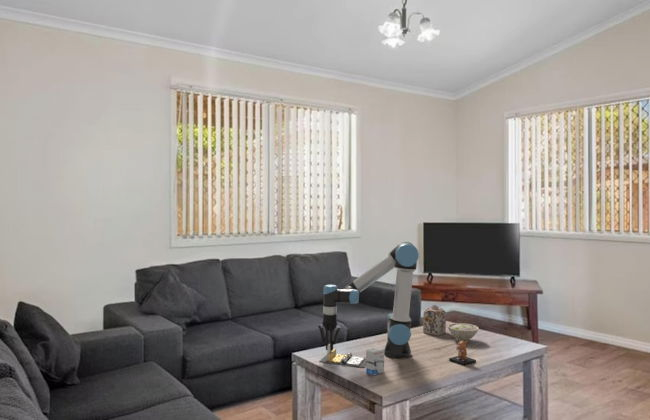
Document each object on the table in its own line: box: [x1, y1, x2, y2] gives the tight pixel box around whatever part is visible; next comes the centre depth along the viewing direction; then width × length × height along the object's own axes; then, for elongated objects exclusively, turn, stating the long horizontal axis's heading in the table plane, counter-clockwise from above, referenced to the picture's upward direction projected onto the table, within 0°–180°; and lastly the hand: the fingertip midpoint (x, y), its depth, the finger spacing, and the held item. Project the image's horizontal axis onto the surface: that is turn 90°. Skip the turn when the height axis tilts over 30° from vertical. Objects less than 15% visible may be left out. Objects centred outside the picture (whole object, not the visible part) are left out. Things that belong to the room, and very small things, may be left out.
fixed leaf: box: [341, 351, 365, 366], centre depth 261 cm, size 10×13×3 cm
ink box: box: [365, 346, 385, 376], centre depth 246 cm, size 9×5×12 cm, turn 129°
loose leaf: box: [328, 348, 349, 364], centre depth 264 cm, size 10×12×4 cm
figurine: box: [448, 339, 477, 367], centre depth 264 cm, size 10×10×12 cm
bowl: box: [446, 322, 479, 343], centre depth 304 cm, size 19×19×10 cm
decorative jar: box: [422, 304, 447, 337], centre depth 322 cm, size 12×12×18 cm
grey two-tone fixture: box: [318, 354, 366, 369], centre depth 263 cm, size 25×14×1 cm, turn 70°
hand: (329, 356), depth 266 cm, fingers closed
